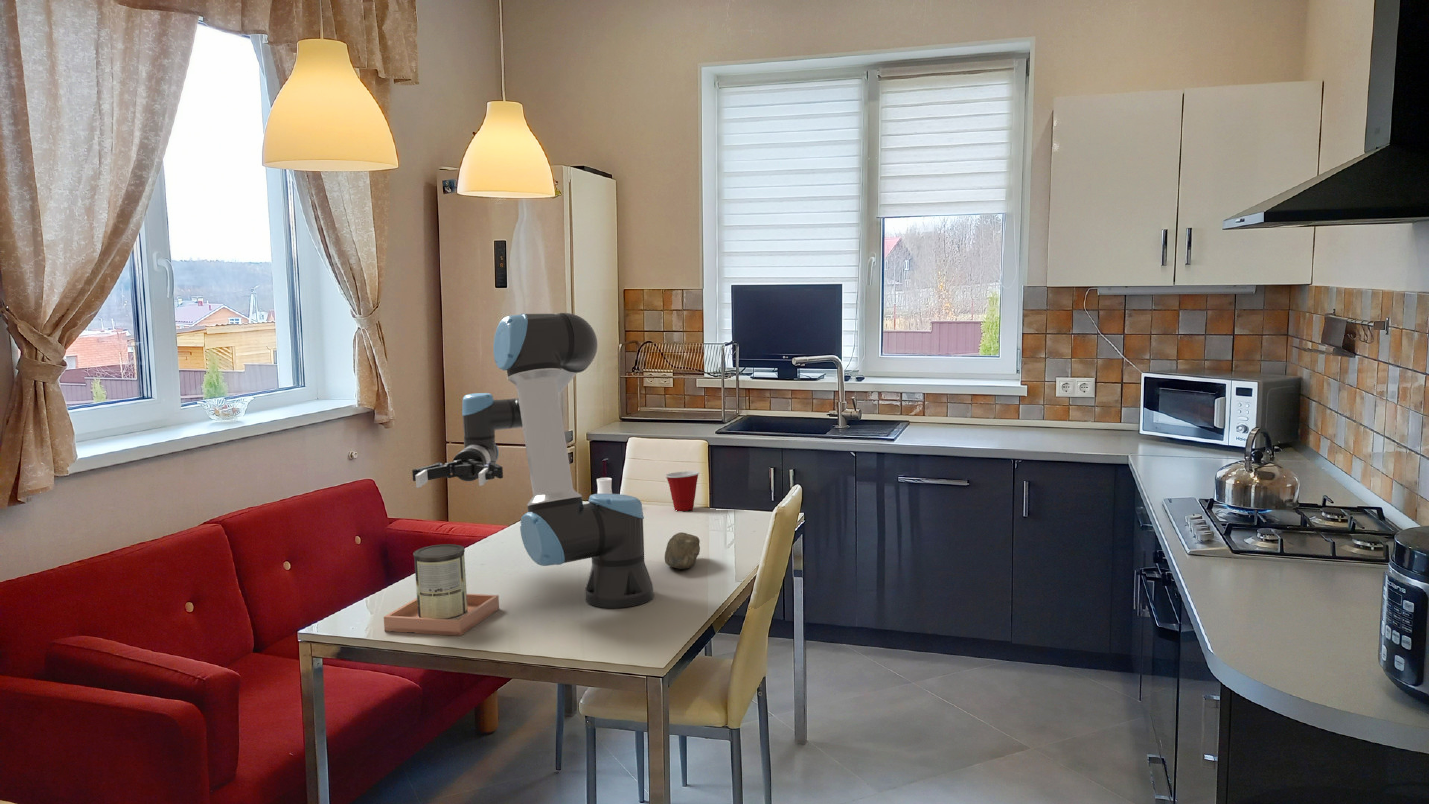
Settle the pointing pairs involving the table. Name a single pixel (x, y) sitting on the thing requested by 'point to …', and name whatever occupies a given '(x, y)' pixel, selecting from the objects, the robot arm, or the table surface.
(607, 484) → the vase
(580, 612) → the table surface
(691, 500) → the plastic cup
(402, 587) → the table surface
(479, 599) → the terracotta dish
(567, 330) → the robot arm
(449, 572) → the coffee can
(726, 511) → the table surface
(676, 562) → the stone
